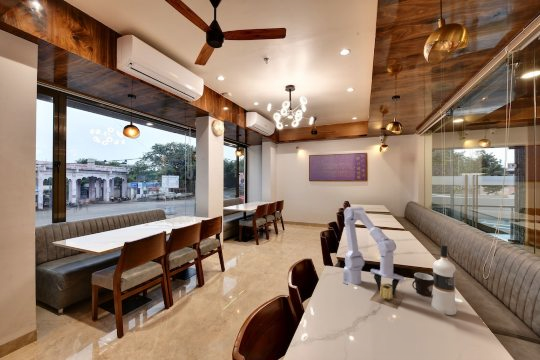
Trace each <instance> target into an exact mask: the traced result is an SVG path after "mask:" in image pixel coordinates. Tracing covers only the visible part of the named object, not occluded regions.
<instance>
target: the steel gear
mask: <svg viewBox="0 0 540 360" xmlns="http://www.w3.org/2000/svg"><path fill="white" fill-rule="evenodd" d="M384 284H385V285H389V286H391V287H392V283H384ZM396 291H397V289H396V290H395V294H394V295H393V297H395V296H396Z"/></svg>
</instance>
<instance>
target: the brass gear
mask: <svg viewBox="0 0 540 360" xmlns="http://www.w3.org/2000/svg"><path fill="white" fill-rule="evenodd" d="M385 284H386V283H383V284H381V285H380V296H382V297H383V298H387V299H391V298H393V295H392V287H391V286H389V285H385Z"/></svg>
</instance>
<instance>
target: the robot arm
mask: <svg viewBox="0 0 540 360" xmlns="http://www.w3.org/2000/svg"><path fill="white" fill-rule="evenodd" d="M343 214H344V215H343V216H344V226H345V235H346V241H347V242H346V243H347V248H348V251H347V252H346V253H345V258H344V263H345V264H344V265H345V266H344V268H343V271H342V273H343V274H342V275H343V276H342V277H343V279H342V280H343V281H342V284H345V285H349V283H350V284H352V285H361V284H362V269H363V267H364V266H365V259H364V256H363V253H362V252H361V251H360V250H359V244H358V239H357V229H356V222H357V221H360V222H361V223H362V224H363V225H364V226H365V227H366V228H367V229H368V230H369V235H370V236H371V237H372V239H373V240H374V242H375V243H376V244H377V249H378V250H379V255H380V256H379V257H380V259H379V260H380V261H379V262H380V263H379V264H380V265H379V267H380V268H379V269H375V268H371V269H370V274H371V275H373V279H374V281H375V282H376V283H375V284H376V286H377V290H379V291H380V285H382V278H387V279H391V285H392V295H394V294H395V290H396V291H397V286H398V285H399V283H400V282H401V283H403V282H404V281H405V277H404V276H403V275H400V274H397V273H394V251H396V249H397V244H396V242H395V241H394V240H393V239H392V238H390V237H388V236H387V235H386V234H385V233H384V232H383V231H382V228H380V227H377V226H375V225H374V223H373V222H372V220H371V219H370V218H369V216H368V215H367V211H366V210H365V208H364V207H362V206H360V205H359V206H354V207H353V206H351V207H350V206H348V207H346V208H345V209H344V210H343Z"/></svg>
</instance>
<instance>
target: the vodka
mask: <svg viewBox="0 0 540 360" xmlns="http://www.w3.org/2000/svg"><path fill="white" fill-rule="evenodd" d="M448 247H449V246H448V245H445V244H444V245H443V244H441V245H440V259H437V260H435V261H434V262H433V263H432V271H433V290H432V299H431V303H430V304H431V307H432V308H433V309H435V310H437V311H438V312H441V313H443V314H444V315H446V316H454V315H456V314H457V311H458V310H457V306H456V299H455V298H456V265H454V263H452V261H450V260H449V259H448V256H449V254H448V253H449V251H448Z"/></svg>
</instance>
